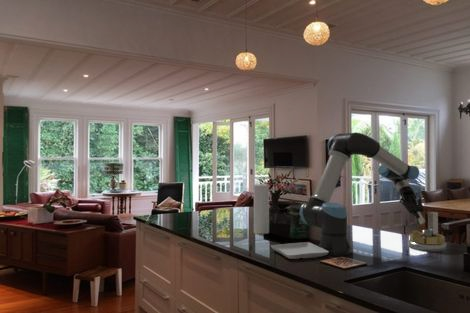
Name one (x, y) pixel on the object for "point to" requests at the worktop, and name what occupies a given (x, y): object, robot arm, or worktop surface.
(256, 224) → the cylinder container
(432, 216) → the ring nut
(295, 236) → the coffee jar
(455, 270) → the worktop surface
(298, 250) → the salad plate
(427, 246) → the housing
